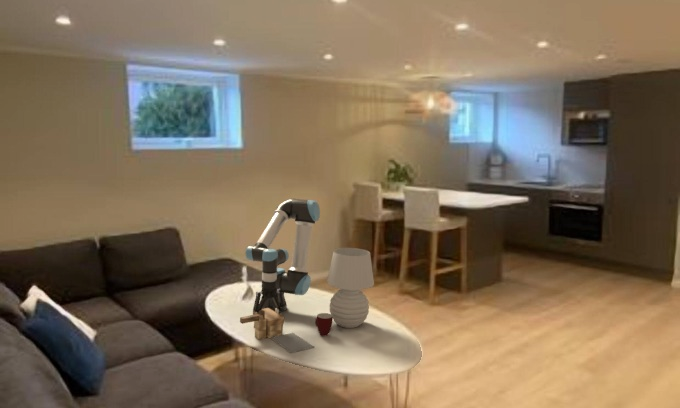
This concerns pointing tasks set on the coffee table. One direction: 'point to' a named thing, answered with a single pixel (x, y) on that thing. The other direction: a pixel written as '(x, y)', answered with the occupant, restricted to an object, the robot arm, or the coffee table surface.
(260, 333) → the open wooden box
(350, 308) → the table lamp
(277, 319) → the lid
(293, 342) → the mat
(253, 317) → the key
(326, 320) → the mug
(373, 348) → the coffee table surface
